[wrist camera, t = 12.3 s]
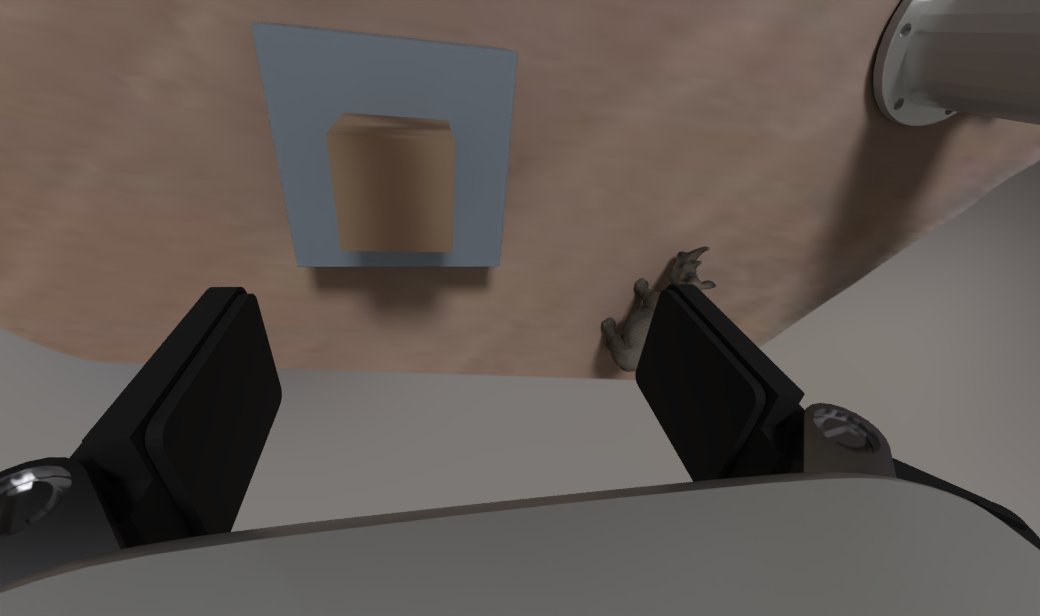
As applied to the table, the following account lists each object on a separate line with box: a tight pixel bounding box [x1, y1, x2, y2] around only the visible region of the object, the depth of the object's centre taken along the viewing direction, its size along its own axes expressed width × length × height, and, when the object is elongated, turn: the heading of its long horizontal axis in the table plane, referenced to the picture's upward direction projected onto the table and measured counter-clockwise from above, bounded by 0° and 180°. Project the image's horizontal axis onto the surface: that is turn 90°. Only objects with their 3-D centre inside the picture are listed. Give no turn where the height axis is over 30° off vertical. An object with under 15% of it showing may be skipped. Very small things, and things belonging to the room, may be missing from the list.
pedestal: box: [251, 23, 517, 267], centre depth 29 cm, size 14×14×4 cm
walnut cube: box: [326, 113, 455, 252], centre depth 25 cm, size 6×6×6 cm
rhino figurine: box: [602, 247, 716, 372], centre depth 40 cm, size 4×14×6 cm, turn 147°
